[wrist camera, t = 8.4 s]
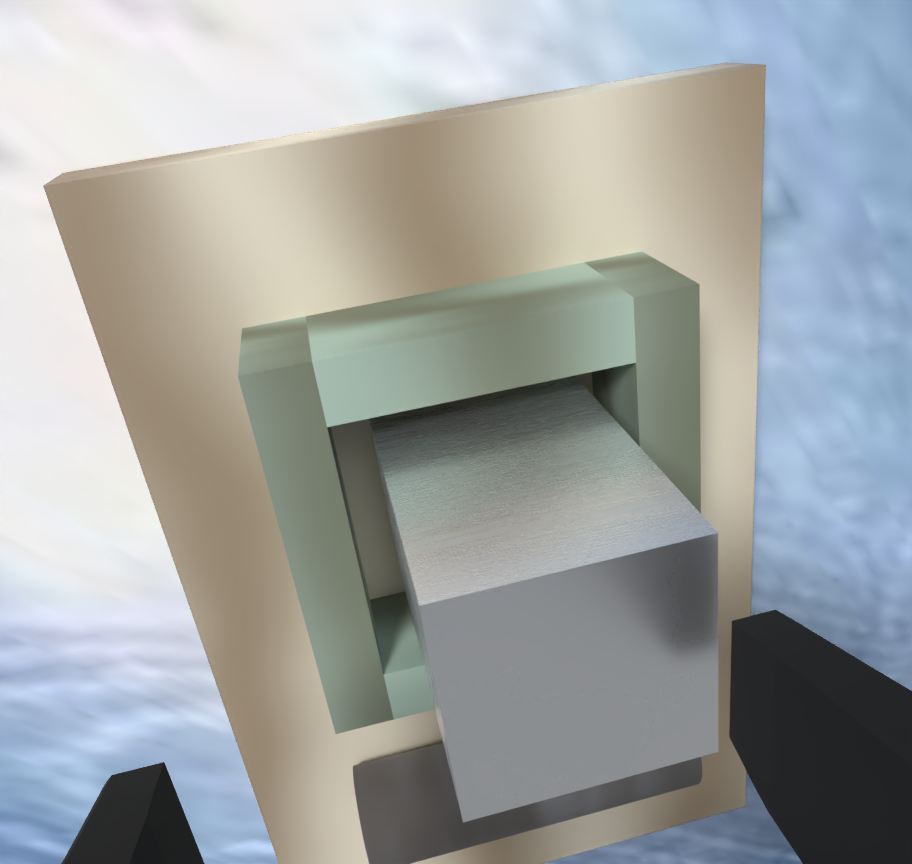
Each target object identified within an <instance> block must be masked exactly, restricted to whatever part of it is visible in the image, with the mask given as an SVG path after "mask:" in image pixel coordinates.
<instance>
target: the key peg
mask: <svg viewBox="0 0 912 864" xmlns="http://www.w3.org/2000/svg"><path fill="white" fill-rule="evenodd" d="M368 422H369V427H370V431H371V436H372V441H373V446H374V450H375V455H376V460H377V465H378V470H379V474H380V479H381V484H382V489H383V493H384V498H385V503H386V508H387V512H388V517H389V522H390V527H391V531H392V536H393V541H394V546H395V550H396V555H397V560H398V564H399V568H400V572H401V576H402V580H403V584H404V588H405V592H406V596H407V600H408V604H409V608H410V612H411V616H412V620H413V624H414V628H415V632H416V636H417V640H418V644H419V648H420V652H421V656H422V660H423V664H424V668H425V672H426V676H427V680H428V684H429V688H430V692H431V696H432V700H433V704H434V708H435V712H436V716H437V720H438V724H439V728H440V732H441V736H442V740H443V744H444V748H445V752H446V756H447V760H448V764H449V768H450V772H451V776H452V780H453V784H454V788H455V792H456V796H457V800H458V804H459V808H460V812H461V816H462V820H463V822H467V821H471V820H474V819H478V818H481V817H485V816H489V815H492V814H496V813H500V812H503V811H507V810H510V809H514V808H518V807H521V806H525V805H528V804H532V803H536V802H539V801H543V800H546V799H550V798H554V797H557V796H561V795H565V794H568V793H572V792H575V791H579V790H583V789H586V788H590V787H593V786H597V785H601V784H604V783H608V782H611V781H615V780H619V779H622V778H626V777H630V776H633V775H637V774H640V773H644V772H648V771H651V770H655V769H658V768H662V767H666V766H669V765H673V764H676V763H680V762H684V761H687V760H691V759H695V758H698V757H702V756H705V755H709V754H713V753H716V752H719V735H718V532H717V531H716V530H715V529H714V528H713V527H712V526H711V524H710V523H709V522H708V521H707V520H706V519H705V518H704V517H703V516H702V515H701V514H700V512H699V511H698V510H697V509H696V508H695V507H694V506H693V505H692V504H691V503H690V501H689V500H688V499H687V498H686V497H685V496H684V495H683V494H682V493H681V492H680V490H679V489H678V488H677V487H676V486H675V485H674V484H673V483H672V482H671V481H670V480H669V478H668V477H667V476H666V475H665V474H664V473H663V472H662V471H661V470H660V469H659V467H658V466H657V465H656V464H655V463H654V462H653V461H652V460H651V459H650V458H649V457H648V455H647V454H646V453H645V452H644V451H643V450H642V449H641V448H640V447H639V446H638V444H637V443H636V442H635V441H634V440H633V439H632V438H631V437H630V436H629V435H628V433H627V432H626V431H625V430H624V429H623V428H622V427H621V426H620V425H619V424H618V423H617V421H616V420H615V419H614V418H613V417H612V416H611V415H610V414H609V413H608V412H607V410H606V409H605V408H604V407H603V406H602V405H601V404H600V403H599V402H598V401H597V399H596V398H595V397H594V396H593V395H592V394H591V393H590V392H589V391H588V390H587V389H586V387H585V386H584V385H583V384H582V383H581V382H580V381H579V380H578V379H577V378H576V376H575V375H574V376H570V377H565V378H560V379H555V380H551V381H546V382H541V383H536V384H532V385H527V386H522V387H517V388H512V389H508V390H503V391H498V392H493V393H489V394H484V395H479V396H474V397H470V398H465V399H460V400H455V401H450V402H446V403H441V404H436V405H431V406H427V407H422V408H417V409H412V410H408V411H403V412H398V413H393V414H388V415H384V416H379V417H374V418H369V419H368Z"/></svg>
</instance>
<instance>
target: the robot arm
mask: <svg viewBox="0 0 912 864" xmlns="http://www.w3.org/2000/svg"><path fill="white" fill-rule="evenodd" d="M729 737H730V739H731V741H732V743H733V745H734V747H735V749H736V751H737V753H738V755H739V757H740V759H741V761H742V763H743V765H744V767H745V769H746V771H747V773H748V775H749V777H750V779H751V781H752V782H753V784H754V786H755V788H756V790H757V792H758V794H759V795H760V797H761V799H762V801H763V803H764V805H765V807H766V808H767V810H768V812H769V813H770V815H771V816H772V818H773V819H774V821H775V822H776V824H777V826H778V827H779V829H780V830H781V832H782V833H783V835H784V836H785V837H786V839H787V840H788V842H789V843H790V845H791V846H792V848H793V849H794V851H795V852H796V854H797V855H798V857H799V858H800V860H801V861H802V863H803V864H912V691H911V690H909V689H907V688H906V687H904V686H902V685H900V684H899V683H897V682H895V681H894V680H892V679H890V678H889V677H887V676H885V675H883V674H882V673H880V672H878V671H877V670H875V669H873V668H872V667H870V666H868V665H867V664H865V663H864V662H862V661H860V660H859V659H857V658H855V657H854V656H852V655H850V654H849V653H847V652H845V651H844V650H842V649H840V648H839V647H837V646H835V645H834V644H832V643H830V642H829V641H827V640H826V639H824V638H822V637H821V636H819V635H817V634H816V633H814V632H812V631H811V630H809V629H807V628H806V627H804V626H802V625H801V624H799V623H797V622H796V621H794V620H792V619H791V618H789V617H787V616H785V615H784V614H782V613H780V612H778V611H777V610H773V611H769V612H765V613H761V614H757V615H753V616H749V617H745V618H741V619H737V620H733V621H732V633H731V679H730V725H729ZM62 864H204V862H203V859H202V857H201V854H200V852H199V849H198V847H197V844H196V842H195V839H194V836H193V834H192V831H191V829H190V826H189V824H188V821H187V819H186V816H185V814H184V811H183V809H182V806H181V804H180V801H179V799H178V796H177V793H176V791H175V788H174V786H173V783H172V781H171V778H170V776H169V773H168V771H167V768H166V766H165V763H164V762H163V763H159V764H155V765H151V766H147V767H143V768H139V769H135V770H131V771H127V772H123V773H119V774H115V775H112V776H111V777H110V778H109V780H108V781H107V782H106V784H105V785H104V787H103V789H102V791H101V793H100V794H99V796H98V798H97V800H96V802H95V804H94V805H93V807H92V809H91V811H90V813H89V815H88V816H87V818H86V820H85V822H84V824H83V826H82V828H81V829H80V831H79V833H78V835H77V837H76V839H75V840H74V842H73V844H72V846H71V848H70V849H69V851H68V853H67V855H66V857H65V859H64V860H63V862H62Z"/></svg>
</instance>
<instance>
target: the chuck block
mask: <svg viewBox="0 0 912 864" xmlns="http://www.w3.org/2000/svg"><path fill="white" fill-rule="evenodd" d="M765 75H766V65H759V64H740V63H722V64H716V65H710V66H704V67H698V68H692V69H686V70H680V71H674V72H668V73H662V74H656V75H650V76H644V77H638V78H632V79H626V80H620V81H614V82H608V83H602V84H596V85H590V86H584V87H578V88H572V89H566V90H560V91H554V92H548V93H542V94H536V95H530V96H524V97H518V98H512V99H506V100H500V101H494V102H488V103H482V104H476V105H470V106H464V107H458V108H452V109H446V110H440V111H434V112H428V113H422V114H416V115H410V116H404V117H398V118H392V119H386V120H380V121H374V122H368V123H362V124H356V125H350V126H344V127H338V128H332V129H326V130H320V131H314V132H308V133H302V134H296V135H290V136H283V137H277V138H271V139H265V140H259V141H253V142H247V143H241V144H235V145H229V146H223V147H217V148H211V149H205V150H199V151H193V152H187V153H181V154H175V155H169V156H163V157H157V158H151V159H145V160H139V161H133V162H127V163H121V164H115V165H109V166H103V167H97V168H91V169H85V170H79V171H73V172H67V173H62V174H61V175H59V176H58V177H56V178H55V179H53V180H52V181H50V182H49V183H47V184H46V185H44V189H45V192H46V195H47V198H48V201H49V204H50V206H51V209H52V212H53V215H54V218H55V221H56V224H57V227H58V229H59V232H60V235H61V238H62V241H63V244H64V247H65V250H66V253H67V255H68V258H69V261H70V264H71V267H72V270H73V273H74V276H75V278H76V281H77V284H78V287H79V290H80V293H81V296H82V299H83V301H84V304H85V307H86V310H87V313H88V316H89V319H90V322H91V324H92V327H93V330H94V333H95V336H96V339H97V342H98V345H99V347H100V350H101V353H102V356H103V359H104V362H105V365H106V368H107V370H108V373H109V376H110V379H111V382H112V385H113V388H114V391H115V393H116V396H117V399H118V402H119V405H120V408H121V411H122V414H123V416H124V419H125V422H126V425H127V428H128V431H129V434H130V437H131V440H132V442H133V445H134V448H135V451H136V454H137V457H138V460H139V463H140V465H141V468H142V471H143V474H144V477H145V480H146V483H147V486H148V488H149V491H150V494H151V497H152V500H153V503H154V506H155V509H156V511H157V514H158V517H159V520H160V523H161V526H162V529H163V532H164V534H165V537H166V540H167V543H168V546H169V549H170V552H171V555H172V557H173V560H174V563H175V566H176V569H177V572H178V575H179V578H180V580H181V583H182V586H183V589H184V592H185V595H186V598H187V601H188V603H189V606H190V609H191V612H192V615H193V618H194V621H195V624H196V626H197V629H198V632H199V635H200V638H201V641H202V644H203V647H204V650H205V652H206V655H207V658H208V661H209V664H210V667H211V670H212V673H213V675H214V678H215V681H216V684H217V687H218V690H219V693H220V696H221V698H222V701H223V704H224V707H225V710H226V713H227V716H228V719H229V721H230V724H231V727H232V730H233V733H234V736H235V739H236V742H237V744H238V747H239V750H240V753H241V756H242V759H243V762H244V765H245V767H246V770H247V773H248V776H249V779H250V782H251V785H252V788H253V790H254V793H255V796H256V799H257V802H258V805H259V808H260V811H261V813H262V816H263V819H264V822H265V825H266V828H267V831H268V834H269V837H270V839H271V842H272V845H273V848H274V851H275V854H276V857H277V860H278V862H279V864H543V863H546V862H550V861H553V860H557V859H560V858H564V857H568V856H571V855H575V854H578V853H582V852H585V851H589V850H592V849H596V848H599V847H603V846H607V845H610V844H614V843H617V842H621V841H624V840H628V839H631V838H635V837H639V836H642V835H646V834H649V833H653V832H656V831H660V830H663V829H667V828H670V827H674V826H678V825H681V824H685V823H688V822H692V821H695V820H699V819H702V818H706V817H710V816H713V815H717V814H720V813H724V812H727V811H731V810H734V809H738V808H741V807H745V805H746V769H745V767H744V765H743V763H742V761H741V759H740V757H739V755H738V753H737V751H736V749H735V747H734V745H733V743H732V741H731V739H730V737H729V725H730V679H731V633H732V621H733V620H737V619H741V618H745V617H749V616H751V586H752V550H753V513H754V477H755V440H756V404H757V367H758V331H759V294H760V258H761V221H762V185H763V148H764V112H765ZM574 375H575V376H576V378H577V379H578V380H579V381H580V382H581V383H582V384H583V385H584V386H585V387H586V389H587V390H588V391H589V392H590V393H591V394H592V395H593V396H594V397H595V398H596V399H597V401H598V402H599V403H600V404H601V405H602V406H603V407H604V408H605V409H606V410H607V412H608V413H609V414H610V415H611V416H612V417H613V418H614V419H615V420H616V421H617V423H618V424H619V425H620V426H621V427H622V428H623V429H624V430H625V431H626V432H627V433H628V435H629V436H630V437H631V438H632V439H633V440H634V441H635V442H636V443H637V444H638V446H639V447H640V448H641V449H642V450H643V451H644V452H645V453H646V454H647V455H648V457H649V458H650V459H651V460H652V461H653V462H654V463H655V464H656V465H657V466H658V467H659V469H660V470H661V471H662V472H663V473H664V474H665V475H666V476H667V477H668V478H669V480H670V481H671V482H672V483H673V484H674V485H675V486H676V487H677V488H678V489H679V490H680V492H681V493H682V494H683V495H684V496H685V497H686V498H687V499H688V500H689V501H690V503H691V504H692V505H693V506H694V507H695V508H696V509H697V510H698V511H699V512H700V514H701V515H702V516H703V517H704V518H705V519H706V520H707V521H708V522H709V523H710V524H711V526H712V527H713V528H714V529H715V530H716V531H717V532H718V735H719V752H716V753H713V754H709V755H705V756H702V757H698V758H695V759H691V760H687V761H684V762H680V763H676V764H673V765H669V766H666V767H662V768H658V769H655V770H651V771H648V772H644V773H640V774H637V775H633V776H630V777H626V778H622V779H619V780H615V781H611V782H608V783H604V784H601V785H597V786H593V787H590V788H586V789H583V790H579V791H575V792H572V793H568V794H565V795H561V796H557V797H554V798H550V799H546V800H543V801H539V802H536V803H532V804H528V805H525V806H521V807H518V808H514V809H510V810H507V811H503V812H500V813H496V814H492V815H489V816H485V817H481V818H478V819H474V820H471V821H467V822H463V820H462V816H461V812H460V808H459V804H458V800H457V796H456V792H455V788H454V784H453V780H452V776H451V772H450V768H449V764H448V760H447V756H446V752H445V748H444V744H443V740H442V736H441V732H440V728H439V724H438V720H437V716H436V712H435V708H434V704H433V700H432V696H431V692H430V688H429V684H428V680H427V676H426V672H425V668H424V664H423V660H422V656H421V652H420V648H419V644H418V640H417V636H416V632H415V628H414V624H413V620H412V616H411V612H410V608H409V604H408V600H407V596H406V592H405V588H404V584H403V580H402V576H401V572H400V568H399V564H398V560H397V555H396V550H395V546H394V541H393V536H392V531H391V527H390V522H389V517H388V512H387V508H386V503H385V498H384V493H383V489H382V484H381V479H380V474H379V470H378V465H377V460H376V455H375V450H374V446H373V441H372V436H371V431H370V427H369V422H368V419H369V418H374V417H379V416H384V415H388V414H393V413H398V412H403V411H408V410H412V409H417V408H422V407H427V406H431V405H436V404H441V403H446V402H450V401H455V400H460V399H465V398H470V397H474V396H479V395H484V394H489V393H493V392H498V391H503V390H508V389H512V388H517V387H522V386H527V385H532V384H536V383H541V382H546V381H551V380H555V379H560V378H565V377H570V376H574Z"/></svg>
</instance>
